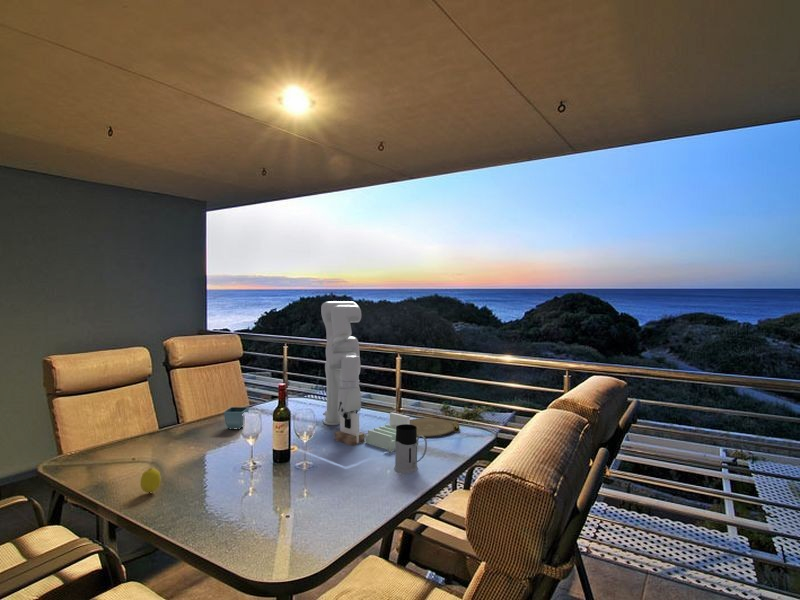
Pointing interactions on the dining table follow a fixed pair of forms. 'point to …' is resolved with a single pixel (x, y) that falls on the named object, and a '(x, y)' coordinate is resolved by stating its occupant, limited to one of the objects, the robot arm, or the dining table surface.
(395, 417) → the rack
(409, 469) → the grey black mug
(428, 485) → the dining table surface
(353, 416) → the tall white panel
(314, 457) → the dining table surface
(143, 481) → the lemon
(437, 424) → the decorative disc
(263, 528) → the dining table surface
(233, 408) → the flower pot
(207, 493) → the dining table surface
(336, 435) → the stand
